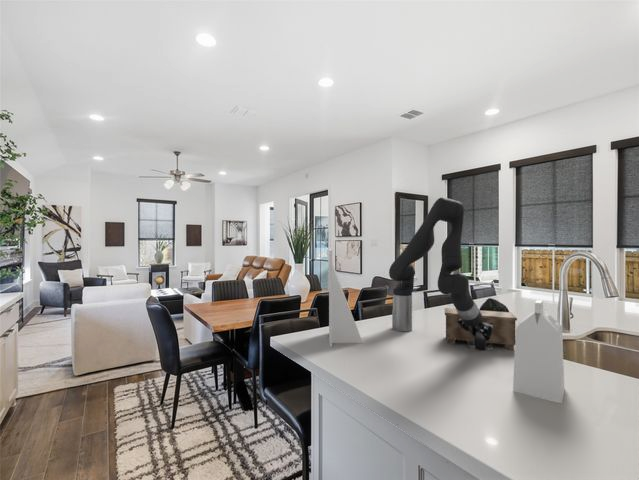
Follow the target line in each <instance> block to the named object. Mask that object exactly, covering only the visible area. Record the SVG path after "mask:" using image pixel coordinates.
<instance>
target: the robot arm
mask: <svg viewBox="0 0 639 480" xmlns="http://www.w3.org/2000/svg"><path fill="white" fill-rule="evenodd" d="M464 210H465V208H464V205H463V203H462V202H460V201H459V200H454V199H453V198H452V199H451V198H448V197H442V196H441V197H439V198H438V199H436V201H434V203H433V204H432V207H431V208H430V210H429V212H428V214H427V215H426V217H425V218H424V219H423V220H424V221H423V222H422V224H421V226H420V227H419V228H418V229H417V231H416V232H415V234H413V236H412V238H411V239H410V240H409V242H408V244H407V245H406V246H405V248H404V250H402V252H401V253H400V254H399V256H398V257H397V258H396V259H395V260H394V261H393V262H392V264H391V265H390V267H389V271H388V275H389V278H390V279H391V280H392V281H394V282H400V283H399V285H397V286H396V287H394V288H393V289H392V310H391V311H392V312H391V316H392V317H391V319H392V321H391V324H392V325H391V327H392V330H394V331H397V332H410V331H412V330H413V292H414V283H415V269H414V265H413V263H415V262H417V261H418V260H420V259H423V257H425V256H426V255H427V254H428V253H429V251H430V250H431V249H432V248H433V246H434V244H435V227H436V224H437V223H438V222H439V221H442V222H446V223H449V224H450V230H449V231H450V232H449V233H448V236H447V237H446V238H445V240H444V242H443V243H442V246H441V252H440V253H441V266H440V271H439V275H438V278H437V289H438V290H439V292H440V294H443V295H450V300H451V301H450V302H452V305H453V306H454V307H455V308H454V309H456V310H457V313H458V314H459V316H460V318H459V320H458V323H459V324H460V325H461V326H462V327H463V328H464V329H465V330H466V331H468V330H469V331H470V332H471V333H472V334H473V336H475V329H478V330H479V332H481V333H483V334H484V336H485V338H486V340H489V339H490V337H491V334H492V331H493V323H490V324H488V323H486V322H485V321H484V320H483V318H482V314H481V312H480V311H479V309H480V308H479V307H478V305H477V304H476V302H475V301H474V299H473V297H472V295H471V293H470V283H469V278H468V277H467V275H465V274H463V273H461V272H460V273H459V272H457V273H453V272H455V271H458V270H460V269H461V268H462V267H463V261H462V260H463V258H462V246H461V245H462V235H463V227H464V217H465V215H464V214H465V211H464ZM465 325H466V327H465ZM486 327H487V328H486Z"/></svg>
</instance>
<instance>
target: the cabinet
mask: <svg viewBox="0 0 639 480" xmlns="http://www.w3.org/2000/svg"><path fill="white" fill-rule="evenodd" d="M479 311H480V312H481V314H482V318H483V320H484V321H485V322H486V323H488V324H490V323H493V331H492V334H491V337H490V339H489V340H486V342H489V343H491V344H499V345H500V344H501V345H504V346H503V347H504V349H505V350H511V351H515V340H516V321H518V317H517V316H515V314H514V313H513V312H510V311H509V312H496V311H481V310H479ZM444 315H445V339H446V340H447V344H451V345H455V344H456V340H461V341H467V340H468V341H475V336H473V334H472V333H471V332H470V331H469V330H468V331H466V330H465V329H464V328H463V327H462V326H461V325H460V324H459V323H458V320H459V318H460V316H459V314H458V313H457V310H456V308H448V307H444ZM465 327H466V325H465ZM486 328H487V327H486Z"/></svg>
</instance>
